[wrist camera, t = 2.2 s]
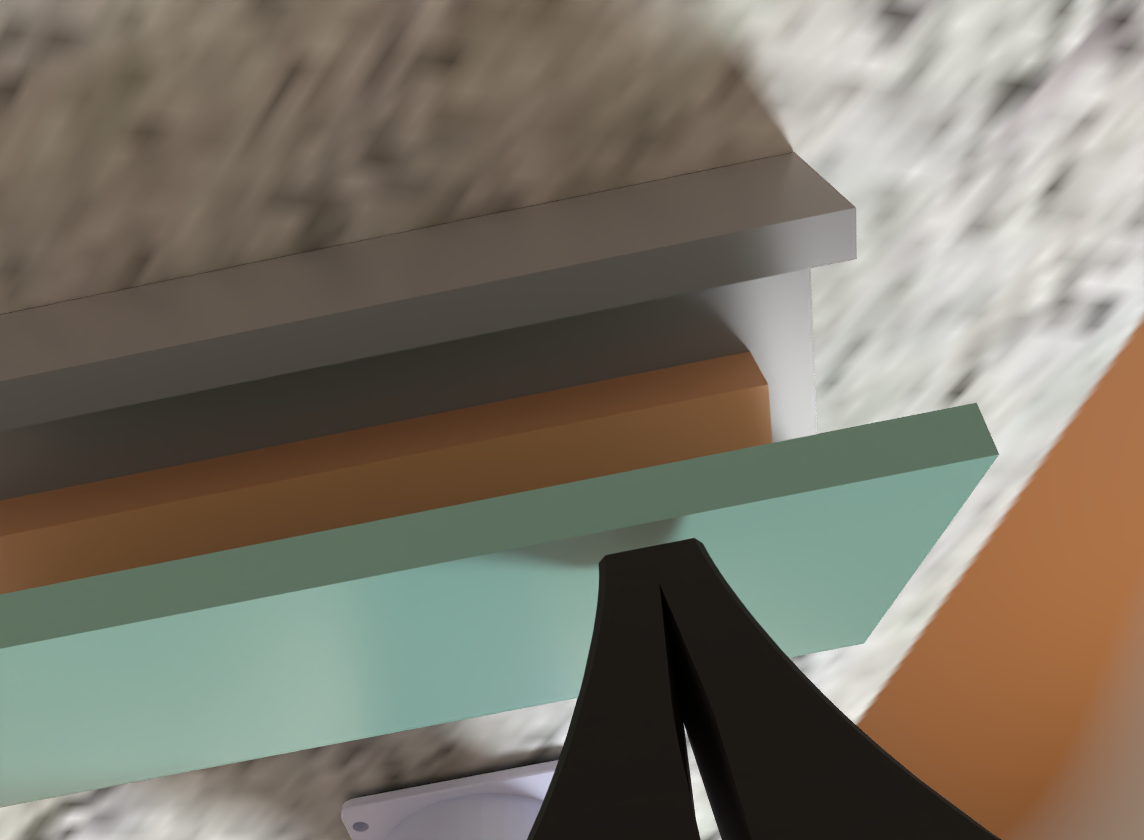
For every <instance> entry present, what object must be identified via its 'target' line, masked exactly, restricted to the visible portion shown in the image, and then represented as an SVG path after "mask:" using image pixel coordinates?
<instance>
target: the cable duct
mask: <svg viewBox="0 0 1144 840" xmlns="http://www.w3.org/2000/svg"><path fill="white" fill-rule="evenodd" d="M854 259H857V254H856V207H855V206H853V205H852V204H851V203H850V202H849V201H848V200H847V199H846V198H845V197H844V196H842V195H841V194H840V193H839V192H838V191H837V190H836V189H835V188H834V187H832V186H831V185H830V184H829V183H828V182H827V181H826V180H825V179H824V178H822V177H821V176H820V175H819V174H818V173H817V172H816V171H815V170H814V169H813V168H811V167H810V166H809V165H808V164H807V163H806V162H805V161H804V160H803V159H801V158H800V157H799V156H798V155H797V154H796V153H795V152H793V153H789V154H784V155H779V156H774V157H769V158H764V159H759V160H754V161H749V162H745V163H740V164H735V165H730V166H725V167H720V168H715V169H710V170H706V171H701V172H696V173H691V174H686V175H681V176H676V177H671V178H666V179H662V180H657V181H652V182H647V183H642V184H637V185H632V186H627V187H622V188H618V189H613V190H608V191H603V192H598V193H593V194H588V195H583V196H578V197H574V198H569V199H564V200H559V201H554V202H549V203H544V204H539V205H535V206H530V207H525V208H520V209H515V210H510V211H505V212H500V213H495V214H491V215H486V216H481V217H476V218H471V219H466V220H461V221H456V222H451V223H447V224H442V225H437V226H432V227H427V228H422V229H417V230H412V231H407V232H403V233H398V234H393V235H388V236H383V237H378V238H373V239H368V240H364V241H359V242H354V243H349V244H344V245H339V246H334V247H329V248H324V249H320V250H315V251H310V252H305V253H300V254H295V255H290V256H285V257H280V258H276V259H271V260H266V261H261V262H256V263H251V264H246V265H241V266H237V267H232V268H227V269H222V270H217V271H212V272H207V273H202V274H197V275H193V276H188V277H183V278H178V279H173V280H168V281H163V282H158V283H153V284H149V285H144V286H139V287H134V288H129V289H124V290H119V291H114V292H109V293H105V294H100V295H95V296H90V297H85V298H80V299H75V300H70V301H66V302H61V303H56V304H51V305H46V306H41V307H36V308H31V309H26V310H22V311H17V312H12V313H7V314H2V315H0V594H5V593H10V592H16V591H21V590H26V589H31V588H36V587H41V586H46V585H51V584H56V583H61V582H66V581H72V580H77V579H82V578H87V577H92V576H97V575H102V574H107V573H112V572H117V571H122V570H128V569H133V568H138V567H143V566H148V565H153V564H158V563H163V562H168V561H173V560H179V559H184V558H189V557H194V556H199V555H204V554H209V553H214V552H219V551H224V550H229V549H235V548H240V547H245V546H250V545H255V544H260V543H265V542H270V541H275V540H280V539H285V538H291V537H296V536H301V535H306V534H311V533H316V532H321V531H326V530H331V529H336V528H342V527H347V526H352V525H357V524H362V523H367V522H372V521H377V520H382V519H387V518H392V517H398V516H403V515H408V514H413V513H418V512H423V511H428V510H433V509H438V508H443V507H448V506H454V505H459V504H464V503H469V502H474V501H479V500H484V499H489V498H494V497H499V496H505V495H510V494H515V493H520V492H525V491H530V490H535V489H540V488H545V487H550V486H555V485H561V484H566V483H571V482H576V481H581V480H586V479H591V478H596V477H601V476H606V475H611V474H617V473H622V472H627V471H632V470H637V469H642V468H647V467H652V466H657V465H662V464H668V463H673V462H678V461H683V460H688V459H693V458H698V457H703V456H708V455H713V454H718V453H724V452H729V451H734V450H739V449H744V448H749V447H754V446H759V445H764V444H769V443H774V442H780V441H785V440H790V439H795V438H800V437H805V436H810V435H815V434H817V418H816V394H815V371H814V347H813V323H812V300H811V276H810V268H814V267H819V266H824V265H829V264H834V263H839V262H844V261H849V260H854Z"/></svg>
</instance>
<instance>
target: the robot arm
mask: <svg viewBox="0 0 1144 840" xmlns="http://www.w3.org/2000/svg"><path fill="white" fill-rule="evenodd" d="M598 564H599V589H598V601H597V609H596V616H595V622H594V629H593V635H592V639H591V644H590V649H589V653H588V658H587V663H586V667H585V672H584V677H583V681H582V685H581V688H580V692H579V695H578V699H577V702H576V706H575V709H574V713H573V716H572V719H571V723H570V726H569V730H568V733H567V737H566V740H565V743H564V746H563V749H562V752H561V755H560V757H559V760H555V761H549V762H544V763H539V764H534V765H528V766H523V767H518V768H512V769H507V770H502V771H496V772H491V773H486V774H480V775H475V776H470V777H464V778H459V779H454V780H449V781H443V782H438V783H433V784H427V785H422V786H417V787H411V788H406V789H401V790H395V791H390V792H385V793H379V794H374V795H369V796H364V797H358V798H353V799H350V800H348V801H346V802H345V803H344V804H343V806H342V809H341V820H342V822H343V824H344V825H345V827H346V829H347V831H348V833H349V835H350V837H351V839H352V840H700V836H699V831H698V827H697V823H696V817H695V809H694V802H693V794H692V786H691V778H690V770H689V762H688V754H687V746H686V738H685V730H684V725H685V728H686V731H687V734H688V738H689V741H690V744H691V747H692V750H693V753H694V756H695V759H696V762H697V765H698V768H699V771H700V774H701V777H702V780H703V784H704V787H705V790H706V793H707V796H708V799H709V802H710V805H711V808H712V811H713V814H714V817H715V820H716V823H717V826H718V829H719V832H720V835H721V838H722V840H1001V839H999V838H998V837H996V836H995V835H993V834H992V833H990V832H989V831H988V830H986V829H985V828H984V827H982V826H981V825H980V824H978V823H977V822H976V821H974V820H973V819H972V818H970V817H969V816H968V815H966V814H965V813H964V812H962V811H961V810H960V809H958V808H957V807H956V806H954V805H953V804H952V803H950V802H949V801H948V800H946V799H945V798H943V797H942V796H941V795H939V794H938V793H937V792H935V791H934V790H933V789H932V788H930V787H929V786H928V785H926V784H925V783H924V782H922V781H921V780H920V779H918V778H917V777H916V776H915V775H913V774H912V773H911V772H910V771H909V770H907V769H906V768H905V767H904V766H903V765H901V764H900V763H899V762H898V761H897V760H895V759H894V758H893V757H892V756H891V755H889V754H888V753H887V752H886V751H885V750H883V749H882V748H881V747H880V746H879V745H878V744H876V743H875V742H874V741H873V740H872V739H871V738H870V737H869V736H868V735H866V734H865V733H864V732H863V731H862V730H861V729H860V728H859V727H857V726H856V725H855V724H854V723H853V722H852V721H851V720H850V719H849V718H848V717H847V716H845V715H844V714H843V713H842V712H841V711H840V710H839V709H838V708H837V707H836V706H835V705H834V704H833V703H832V702H831V701H830V700H829V699H828V698H827V697H826V696H825V695H824V694H823V693H822V692H821V691H820V690H819V689H818V688H817V687H816V686H815V685H814V684H813V683H812V682H811V681H810V680H809V679H808V678H807V677H806V676H805V675H804V674H803V673H802V672H801V671H800V669H799V668H798V667H797V666H796V665H795V664H794V663H793V662H792V661H791V660H790V659H789V657H788V656H787V655H786V654H785V653H784V652H783V651H782V650H781V649H780V647H779V646H778V645H777V644H776V643H775V642H774V640H773V639H772V638H771V637H770V636H769V635H768V633H767V632H766V631H765V630H764V629H763V627H762V626H761V625H760V624H759V623H758V622H757V620H756V619H755V618H754V617H753V616H752V614H751V613H750V612H749V611H748V609H747V608H746V607H745V605H744V604H743V603H742V602H741V600H740V599H739V598H738V596H737V595H736V593H735V592H734V591H733V589H732V588H731V587H730V585H729V584H728V583H727V581H726V580H725V578H724V577H723V575H722V574H721V573H720V571H719V569H718V568H717V566H716V565H715V563H714V562H713V560H712V558H711V557H710V555H709V553H708V552H707V550H706V548H705V546H704V544H703V543H702V542H700V541H699V540H697V539H695V538H691V539H686V540H681V541H675V542H670V543H665V544H660V545H655V546H650V547H644V548H639V549H634V550H629V551H624V552H619V553H613V554H608V555H605V556H604V557H603V558H602V560H601V561H600V562H599V563H598Z"/></svg>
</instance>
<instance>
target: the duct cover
mask: <svg viewBox="0 0 1144 840" xmlns="http://www.w3.org/2000/svg"><path fill="white" fill-rule="evenodd" d="M998 455H999V453H998V451H997V449H996V446H995V444H994V442H993V439H992V437H991V435H990V432H989V430H988V428H987V426H986V423H985V421H984V419H983V416H982V414H981V412H980V410H979V407H978V405H977V403H973V404H968V405H963V406H958V407H953V408H948V409H943V410H937V411H932V412H927V413H922V414H917V415H912V416H907V417H902V418H897V419H892V420H887V421H881V422H876V423H871V424H866V425H861V426H856V427H851V428H846V429H841V430H836V431H831V432H825V433H820V434H815V435H810V436H805V437H800V438H795V439H790V440H785V441H780V442H774V443H769V444H764V445H759V446H754V447H749V448H744V449H739V450H734V451H729V452H724V453H718V454H713V455H708V456H703V457H698V458H693V459H688V460H683V461H678V462H673V463H668V464H662V465H657V466H652V467H647V468H642V469H637V470H632V471H627V472H622V473H617V474H611V475H606V476H601V477H596V478H591V479H586V480H581V481H576V482H571V483H566V484H561V485H555V486H550V487H545V488H540V489H535V490H530V491H525V492H520V493H515V494H510V495H505V496H499V497H494V498H489V499H484V500H479V501H474V502H469V503H464V504H459V505H454V506H448V507H443V508H438V509H433V510H428V511H423V512H418V513H413V514H408V515H403V516H398V517H392V518H387V519H382V520H377V521H372V522H367V523H362V524H357V525H352V526H347V527H342V528H336V529H331V530H326V531H321V532H316V533H311V534H306V535H301V536H296V537H291V538H285V539H280V540H275V541H270V542H265V543H260V544H255V545H250V546H245V547H240V548H235V549H229V550H224V551H219V552H214V553H209V554H204V555H199V556H194V557H189V558H184V559H179V560H173V561H168V562H163V563H158V564H153V565H148V566H143V567H138V568H133V569H128V570H122V571H117V572H112V573H107V574H102V575H97V576H92V577H87V578H82V579H77V580H72V581H66V582H61V583H56V584H51V585H46V586H41V587H36V588H31V589H26V590H21V591H16V592H10V593H5V594H0V807H5V806H11V805H16V804H21V803H26V802H32V801H37V800H42V799H47V798H53V797H58V796H63V795H68V794H74V793H79V792H84V791H90V790H95V789H100V788H105V787H111V786H116V785H121V784H126V783H132V782H137V781H142V780H147V779H153V778H158V777H163V776H168V775H174V774H179V773H184V772H190V771H195V770H200V769H205V768H211V767H216V766H221V765H226V764H232V763H237V762H242V761H247V760H253V759H258V758H263V757H269V756H274V755H279V754H284V753H290V752H295V751H300V750H305V749H311V748H316V747H321V746H326V745H332V744H337V743H342V742H347V741H353V740H358V739H363V738H369V737H374V736H379V735H384V734H390V733H395V732H400V731H405V730H411V729H416V728H421V727H426V726H432V725H437V724H442V723H448V722H453V721H458V720H463V719H469V718H474V717H479V716H484V715H490V714H495V713H500V712H505V711H511V710H516V709H521V708H526V707H532V706H537V705H542V704H548V703H553V702H558V701H563V700H569V699H574V698H578V695H579V692H580V688H581V685H582V681H583V677H584V672H585V667H586V663H587V658H588V653H589V649H590V644H591V639H592V635H593V629H594V622H595V616H596V609H597V601H598V589H599V564H598V563H599V562H600V561H601V560H602V558H603V557H604V556H605V555H608V554H613V553H619V552H624V551H629V550H634V549H639V548H644V547H650V546H655V545H660V544H665V543H670V542H675V541H681V540H686V539H691V538H695V539H697V540H699V541H700V542H702V543H703V544H704V546H705V548H706V550H707V552H708V553H709V555H710V557H711V558H712V560H713V562H714V563H715V565H716V566H717V568H718V569H719V571H720V573H721V574H722V575H723V577H724V578H725V580H726V581H727V583H728V584H729V585H730V587H731V588H732V589H733V591H734V592H735V593H736V595H737V596H738V598H739V599H740V600H741V602H742V603H743V604H744V605H745V607H746V608H747V609H748V611H749V612H750V613H751V614H752V616H753V617H754V618H755V619H756V620H757V622H758V623H759V624H760V625H761V626H762V627H763V629H764V630H765V631H766V632H767V633H768V635H769V636H770V637H771V638H772V639H773V640H774V642H775V643H776V644H777V645H778V646H779V647H780V649H781V650H782V651H783V652H784V653H785V654H786V655H787V656H788V657H789V658H790V657H795V656H800V655H806V654H811V653H816V652H821V651H827V650H832V649H837V648H842V647H848V646H853V645H858V644H863V643H865V641H866V640H867V638H868V637H869V636H870V634H871V633H872V631H873V630H874V629H875V627H876V626H877V624H878V623H879V622H880V620H881V619H882V617H883V616H884V615H885V613H886V612H887V610H888V609H889V608H890V606H891V605H892V603H893V602H894V601H895V599H896V598H897V596H898V595H899V594H900V592H901V591H902V589H903V588H904V587H905V585H906V584H907V582H908V581H909V580H910V578H911V577H912V575H913V574H914V573H915V571H916V570H917V568H918V567H919V566H920V564H921V563H922V561H923V560H924V559H925V557H926V556H927V554H928V553H929V552H930V550H931V549H932V547H933V546H934V545H935V543H936V542H937V540H938V539H939V538H940V536H941V535H942V533H943V532H944V531H945V529H946V528H947V526H948V525H949V524H950V522H951V521H952V520H953V518H954V517H955V515H956V514H957V513H958V511H959V510H960V508H961V507H962V506H963V504H964V503H965V501H966V500H967V499H968V497H969V496H970V494H971V493H972V492H973V490H974V489H975V487H976V486H977V485H978V483H979V482H980V480H981V479H982V478H983V476H984V475H985V473H986V472H987V471H988V469H989V468H990V466H991V465H992V464H993V462H994V461H995V459H996V458H997V457H998Z"/></svg>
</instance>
